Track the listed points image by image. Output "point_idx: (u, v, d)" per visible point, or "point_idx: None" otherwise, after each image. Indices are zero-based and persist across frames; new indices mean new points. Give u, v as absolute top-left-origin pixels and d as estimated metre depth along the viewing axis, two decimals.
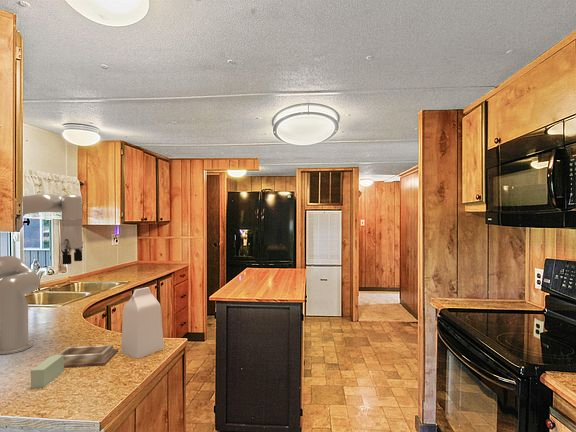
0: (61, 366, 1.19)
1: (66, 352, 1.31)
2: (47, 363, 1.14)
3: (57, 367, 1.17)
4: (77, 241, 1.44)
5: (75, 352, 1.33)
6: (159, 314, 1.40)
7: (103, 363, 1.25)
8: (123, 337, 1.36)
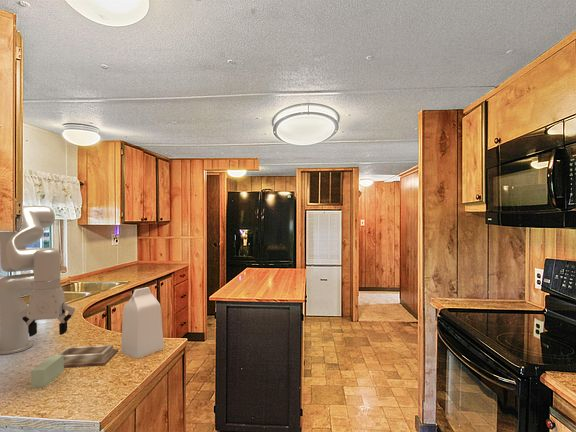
0: (61, 366, 1.19)
1: (66, 352, 1.31)
2: (47, 363, 1.14)
3: (57, 367, 1.17)
4: None
5: (75, 352, 1.33)
6: (159, 314, 1.40)
7: (103, 363, 1.25)
8: (123, 337, 1.36)
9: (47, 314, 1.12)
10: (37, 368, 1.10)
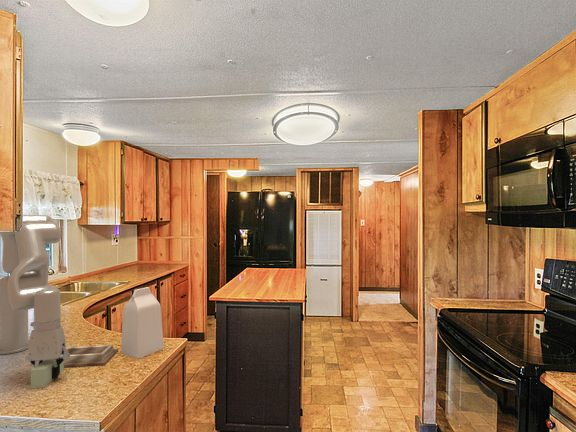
0: (61, 366, 1.19)
1: None
2: (47, 362, 1.14)
3: None
4: None
5: (75, 352, 1.33)
6: (159, 314, 1.40)
7: (103, 363, 1.25)
8: (123, 337, 1.36)
9: (47, 355, 1.12)
10: (37, 368, 1.10)
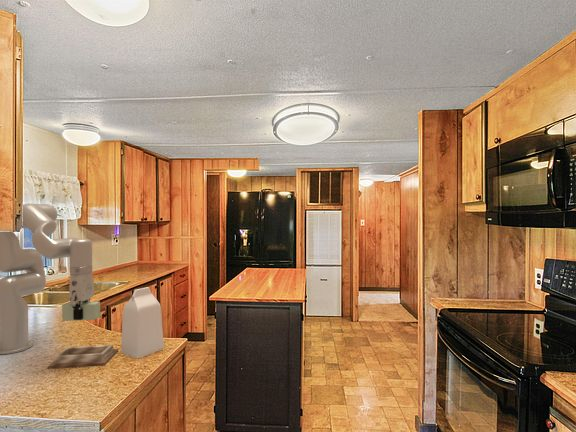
0: None
1: (66, 352, 1.31)
2: (84, 303, 1.30)
3: None
4: None
5: (75, 352, 1.33)
6: (159, 314, 1.40)
7: (103, 363, 1.25)
8: (123, 337, 1.36)
9: (90, 293, 1.31)
10: (93, 303, 1.29)
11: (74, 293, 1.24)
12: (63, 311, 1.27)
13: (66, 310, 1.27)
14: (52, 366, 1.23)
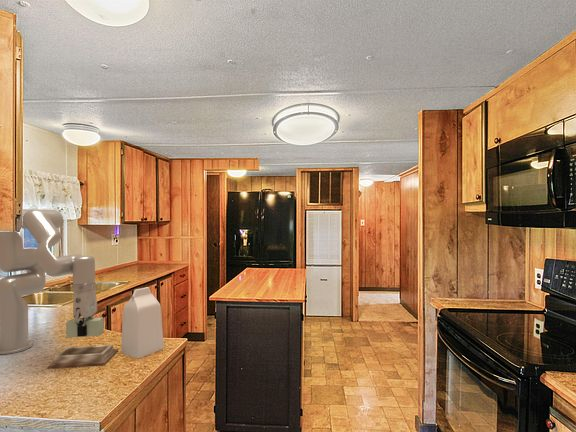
0: None
1: (66, 352, 1.31)
2: (87, 319, 1.31)
3: None
4: None
5: (75, 352, 1.33)
6: (159, 314, 1.40)
7: (103, 363, 1.25)
8: (123, 337, 1.36)
9: (94, 310, 1.32)
10: (96, 319, 1.30)
11: (78, 310, 1.26)
12: (67, 328, 1.28)
13: (70, 326, 1.28)
14: (52, 366, 1.23)
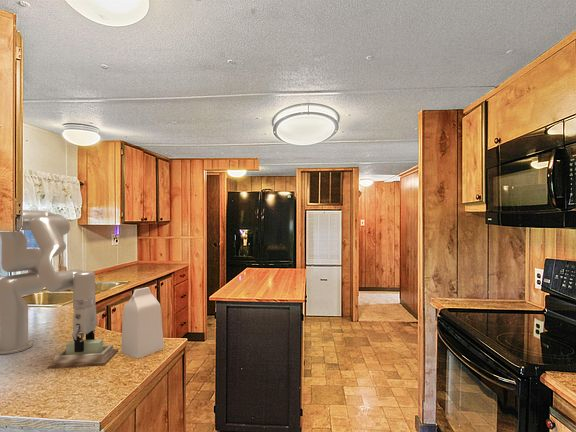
0: None
1: None
2: (87, 341, 1.31)
3: None
4: None
5: None
6: (159, 314, 1.40)
7: (103, 363, 1.25)
8: (123, 337, 1.36)
9: (94, 325, 1.32)
10: (96, 341, 1.30)
11: (77, 325, 1.25)
12: (67, 350, 1.28)
13: (69, 348, 1.28)
14: (52, 366, 1.23)
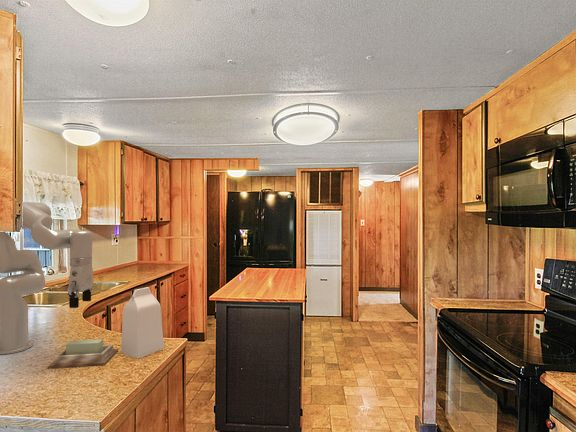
0: None
1: None
2: (87, 341, 1.31)
3: None
4: None
5: None
6: (159, 314, 1.40)
7: (103, 363, 1.25)
8: (123, 337, 1.36)
9: (90, 284, 1.34)
10: (96, 341, 1.30)
11: (73, 281, 1.27)
12: (67, 350, 1.28)
13: (69, 348, 1.28)
14: (52, 366, 1.23)
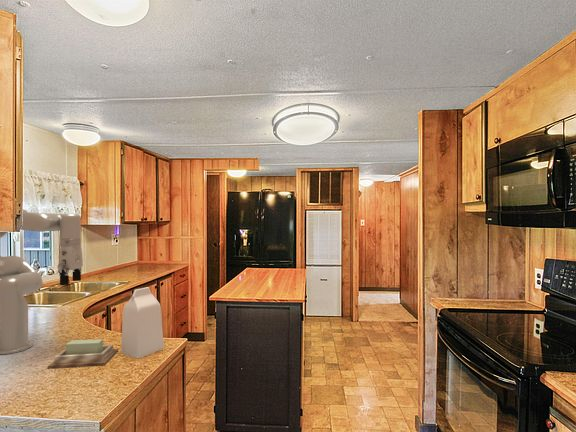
0: None
1: None
2: (87, 341, 1.31)
3: None
4: None
5: None
6: (159, 314, 1.40)
7: (103, 363, 1.25)
8: (123, 337, 1.36)
9: (79, 264, 1.43)
10: (96, 341, 1.30)
11: (63, 260, 1.36)
12: (67, 350, 1.28)
13: (69, 348, 1.28)
14: (52, 366, 1.23)
